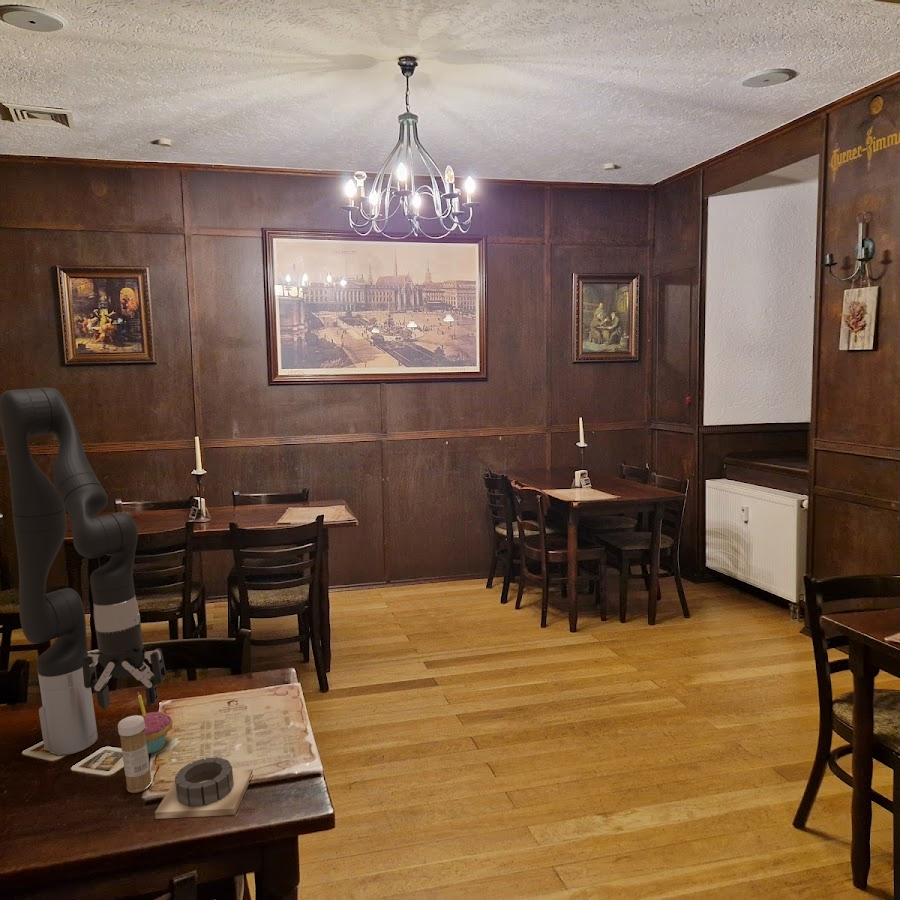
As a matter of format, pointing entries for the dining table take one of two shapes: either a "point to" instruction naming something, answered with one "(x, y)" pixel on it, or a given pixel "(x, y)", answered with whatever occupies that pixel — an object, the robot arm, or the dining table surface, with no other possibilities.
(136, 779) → the sprinkles bottle
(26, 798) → the dining table surface
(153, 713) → the cupcake
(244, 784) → the ring holder
